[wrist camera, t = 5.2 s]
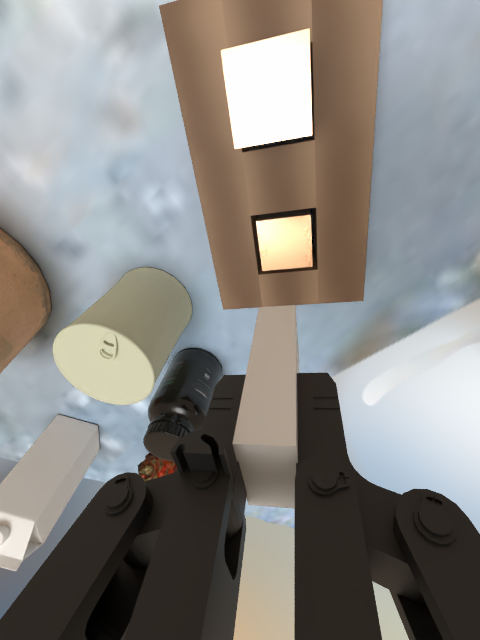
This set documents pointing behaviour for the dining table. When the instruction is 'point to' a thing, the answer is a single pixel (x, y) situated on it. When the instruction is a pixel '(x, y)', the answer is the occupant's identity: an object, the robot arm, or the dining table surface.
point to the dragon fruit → (155, 467)
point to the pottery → (19, 299)
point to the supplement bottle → (181, 400)
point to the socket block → (282, 144)
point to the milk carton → (43, 486)
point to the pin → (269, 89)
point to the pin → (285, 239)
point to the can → (124, 337)
